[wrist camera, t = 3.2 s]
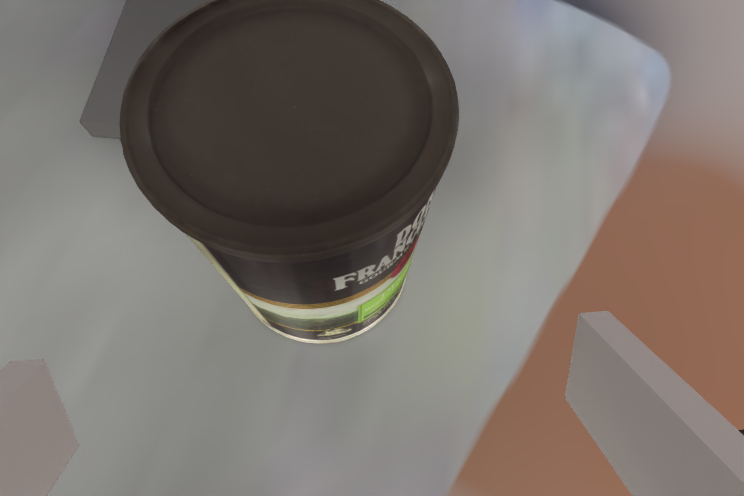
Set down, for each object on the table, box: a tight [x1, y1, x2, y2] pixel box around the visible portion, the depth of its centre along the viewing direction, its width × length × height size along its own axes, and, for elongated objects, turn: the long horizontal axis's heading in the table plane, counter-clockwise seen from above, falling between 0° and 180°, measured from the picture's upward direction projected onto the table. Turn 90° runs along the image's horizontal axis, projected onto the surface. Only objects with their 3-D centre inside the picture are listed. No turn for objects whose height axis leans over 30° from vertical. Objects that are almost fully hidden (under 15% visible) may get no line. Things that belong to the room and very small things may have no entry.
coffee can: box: [119, 0, 459, 343], centre depth 20 cm, size 10×10×14 cm
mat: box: [79, 0, 210, 139], centre depth 31 cm, size 16×14×2 cm
